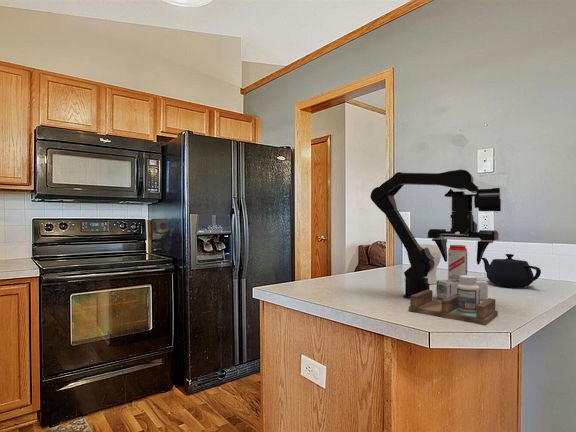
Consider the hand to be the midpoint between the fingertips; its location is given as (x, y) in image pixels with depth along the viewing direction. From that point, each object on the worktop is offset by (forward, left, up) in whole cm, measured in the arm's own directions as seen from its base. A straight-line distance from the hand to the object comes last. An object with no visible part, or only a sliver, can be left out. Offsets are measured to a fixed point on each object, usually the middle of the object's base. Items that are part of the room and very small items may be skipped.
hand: (461, 263), depth 109 cm
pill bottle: (+6, -15, -11) cm, 19 cm away
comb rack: (+2, -15, -12) cm, 19 cm away
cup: (-21, +28, -12) cm, 37 cm away
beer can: (-7, +20, -12) cm, 24 cm away
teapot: (+4, +45, -12) cm, 47 cm away
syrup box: (+3, +12, -9) cm, 15 cm away
